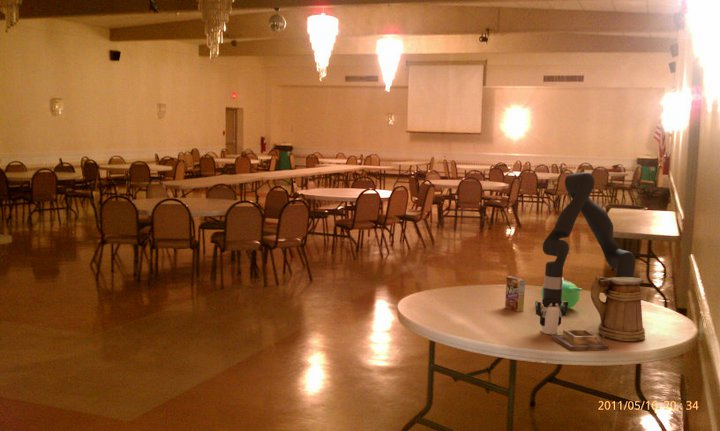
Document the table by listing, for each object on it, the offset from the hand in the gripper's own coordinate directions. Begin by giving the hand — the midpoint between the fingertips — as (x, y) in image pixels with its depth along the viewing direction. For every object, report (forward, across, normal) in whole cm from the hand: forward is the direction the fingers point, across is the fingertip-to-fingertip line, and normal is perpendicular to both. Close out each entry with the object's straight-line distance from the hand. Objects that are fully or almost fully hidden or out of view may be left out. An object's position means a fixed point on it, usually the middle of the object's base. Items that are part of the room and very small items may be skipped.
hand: (550, 325), depth 294 cm
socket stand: (+3, -5, +16) cm, 17 cm away
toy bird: (+3, -25, -40) cm, 47 cm away
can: (+3, 0, 0) cm, 3 cm away
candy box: (+3, -1, -39) cm, 39 cm away
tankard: (+3, -27, +6) cm, 28 cm away
